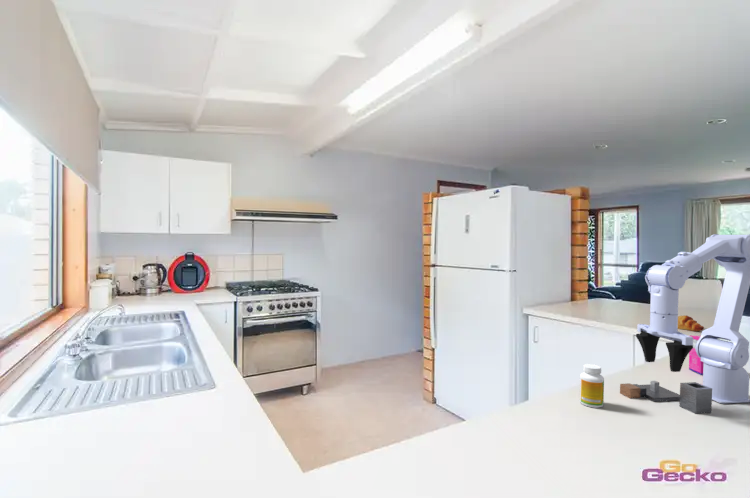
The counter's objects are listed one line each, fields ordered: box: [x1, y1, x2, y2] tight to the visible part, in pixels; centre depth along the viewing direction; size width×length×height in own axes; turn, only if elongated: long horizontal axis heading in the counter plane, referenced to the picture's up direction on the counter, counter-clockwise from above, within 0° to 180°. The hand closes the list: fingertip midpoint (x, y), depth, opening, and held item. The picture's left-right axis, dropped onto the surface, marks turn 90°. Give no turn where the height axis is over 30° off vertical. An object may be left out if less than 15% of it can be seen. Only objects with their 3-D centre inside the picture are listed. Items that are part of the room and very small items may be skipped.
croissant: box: [678, 315, 705, 332], centre depth 198 cm, size 21×10×8 cm, turn 7°
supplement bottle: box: [578, 363, 605, 409], centre depth 103 cm, size 5×5×10 cm
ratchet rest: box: [619, 380, 680, 403], centre depth 110 cm, size 14×9×4 cm, turn 99°
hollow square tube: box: [679, 381, 713, 415], centre depth 100 cm, size 4×4×6 cm
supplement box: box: [688, 335, 721, 376], centre depth 130 cm, size 6×6×12 cm
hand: (662, 366), depth 102 cm, fingers open, 7 cm apart
